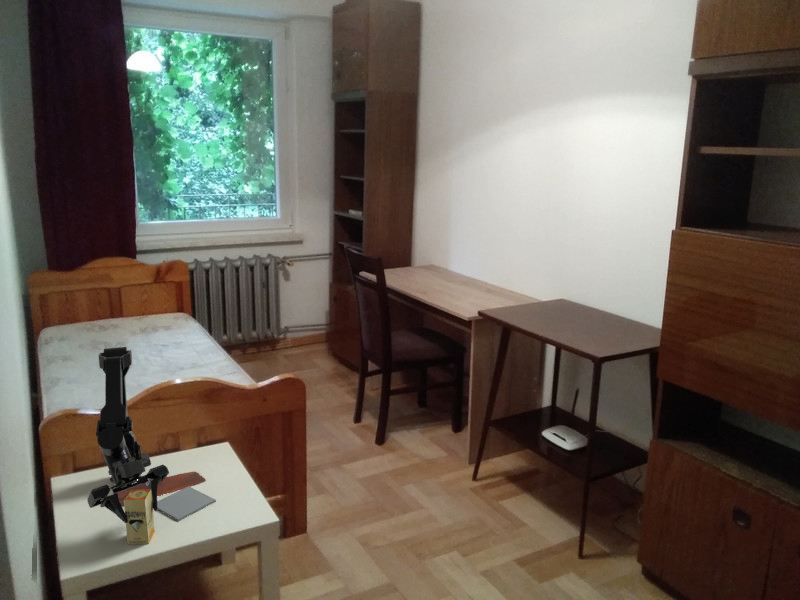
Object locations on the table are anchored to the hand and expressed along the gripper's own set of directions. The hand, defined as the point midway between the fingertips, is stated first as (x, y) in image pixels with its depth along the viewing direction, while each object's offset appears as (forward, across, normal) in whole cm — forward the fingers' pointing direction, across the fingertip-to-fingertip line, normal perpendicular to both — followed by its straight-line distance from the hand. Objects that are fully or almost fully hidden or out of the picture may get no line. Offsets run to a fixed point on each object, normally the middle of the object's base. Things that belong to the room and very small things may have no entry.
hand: (141, 516), depth 154 cm
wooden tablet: (-10, +14, +21) cm, 27 cm away
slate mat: (-1, +15, +11) cm, 19 cm away
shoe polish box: (+4, 0, +6) cm, 7 cm away
